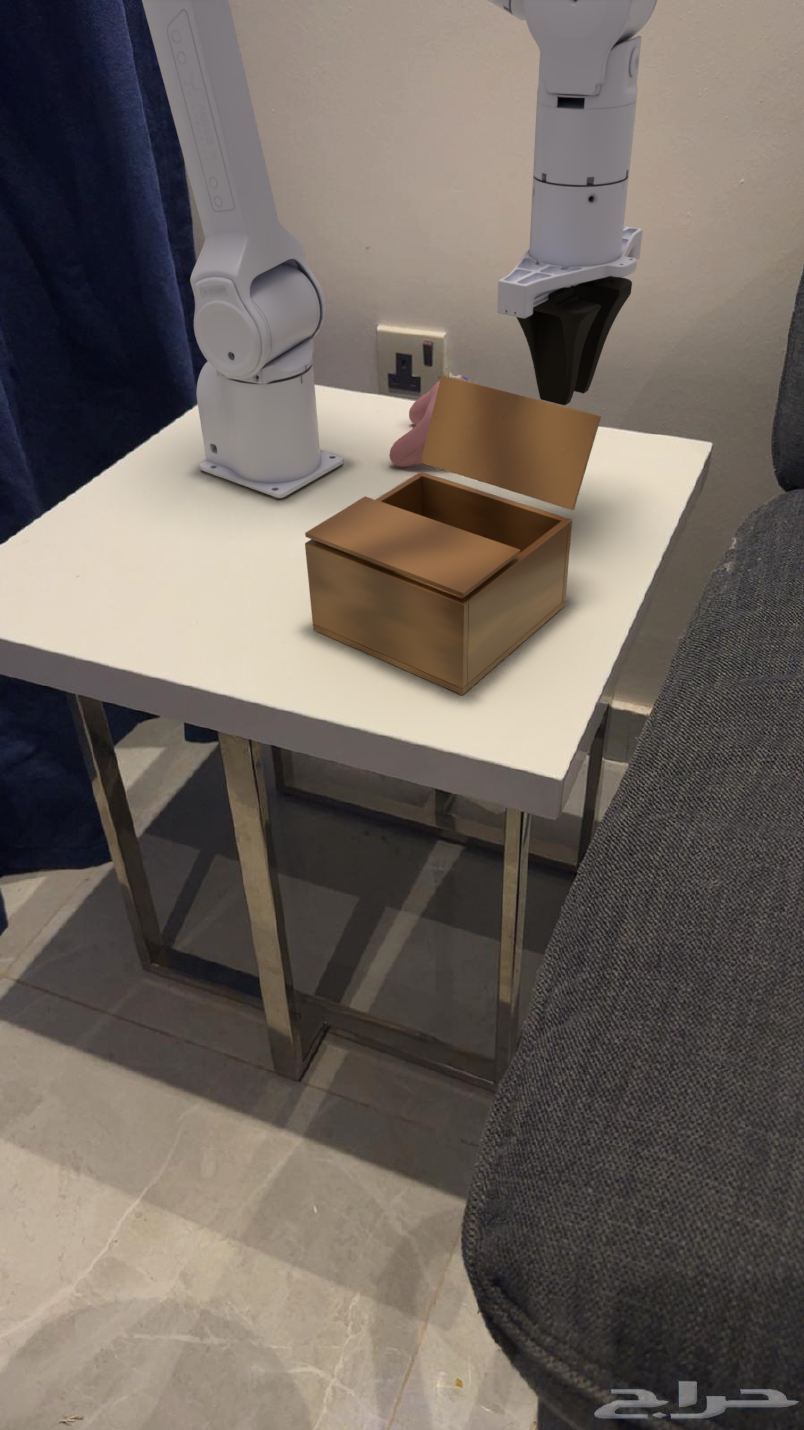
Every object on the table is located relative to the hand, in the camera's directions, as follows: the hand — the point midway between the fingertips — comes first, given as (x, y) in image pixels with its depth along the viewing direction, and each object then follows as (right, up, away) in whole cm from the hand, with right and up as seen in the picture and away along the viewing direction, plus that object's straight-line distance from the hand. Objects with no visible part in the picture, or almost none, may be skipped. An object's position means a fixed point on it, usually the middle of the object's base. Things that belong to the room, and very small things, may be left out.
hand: (564, 394), depth 71 cm
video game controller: (-8, +1, +18) cm, 20 cm away
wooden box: (-9, -15, -2) cm, 18 cm away
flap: (-4, -4, -4) cm, 7 cm away
